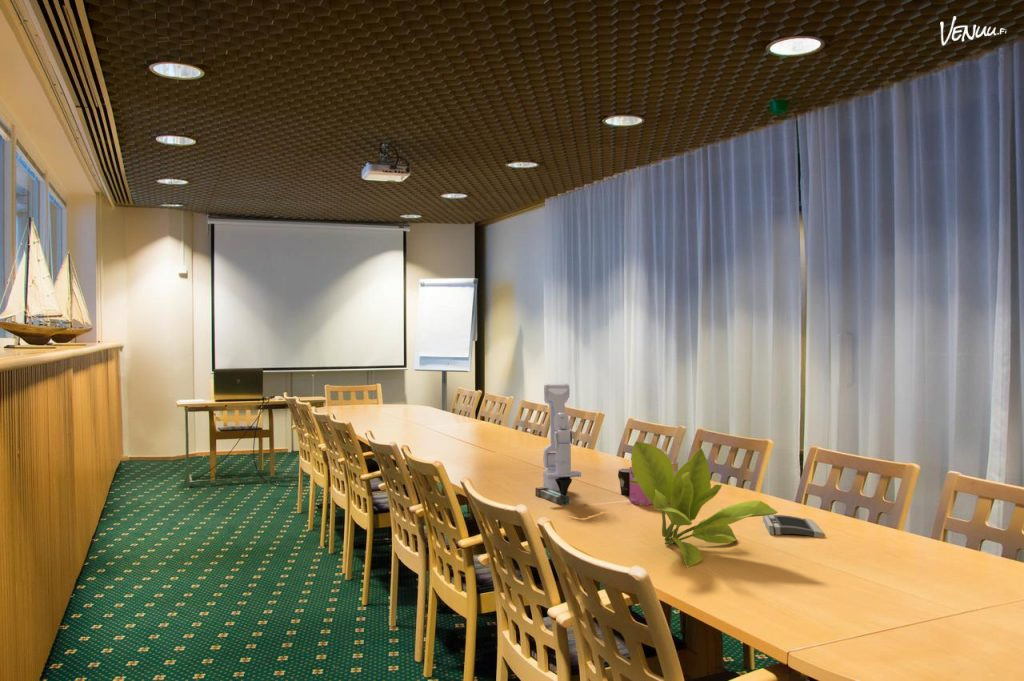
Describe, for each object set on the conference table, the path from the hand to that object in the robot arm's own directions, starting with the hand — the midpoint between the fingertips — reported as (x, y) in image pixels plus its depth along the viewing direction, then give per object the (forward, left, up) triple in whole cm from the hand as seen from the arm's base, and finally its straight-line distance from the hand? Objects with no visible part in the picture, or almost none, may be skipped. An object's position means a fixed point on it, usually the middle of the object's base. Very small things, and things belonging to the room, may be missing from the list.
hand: (563, 497), depth 285 cm
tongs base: (-4, -3, -2) cm, 5 cm away
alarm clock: (+67, +47, -3) cm, 82 cm away
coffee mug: (-1, +30, -2) cm, 31 cm away
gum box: (+10, +34, -2) cm, 36 cm away
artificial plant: (+71, +3, -2) cm, 71 cm away
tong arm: (-2, -2, -1) cm, 3 cm away
